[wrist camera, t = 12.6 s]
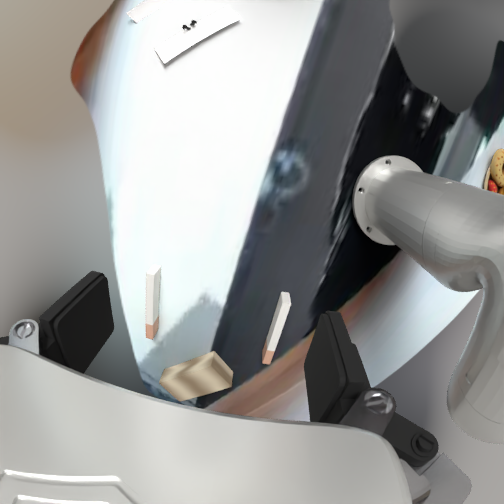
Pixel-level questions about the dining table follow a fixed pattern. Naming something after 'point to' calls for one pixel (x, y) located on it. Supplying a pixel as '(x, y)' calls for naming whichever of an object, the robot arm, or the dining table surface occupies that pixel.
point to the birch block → (197, 377)
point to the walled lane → (153, 313)
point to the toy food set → (495, 173)
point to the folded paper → (189, 33)
